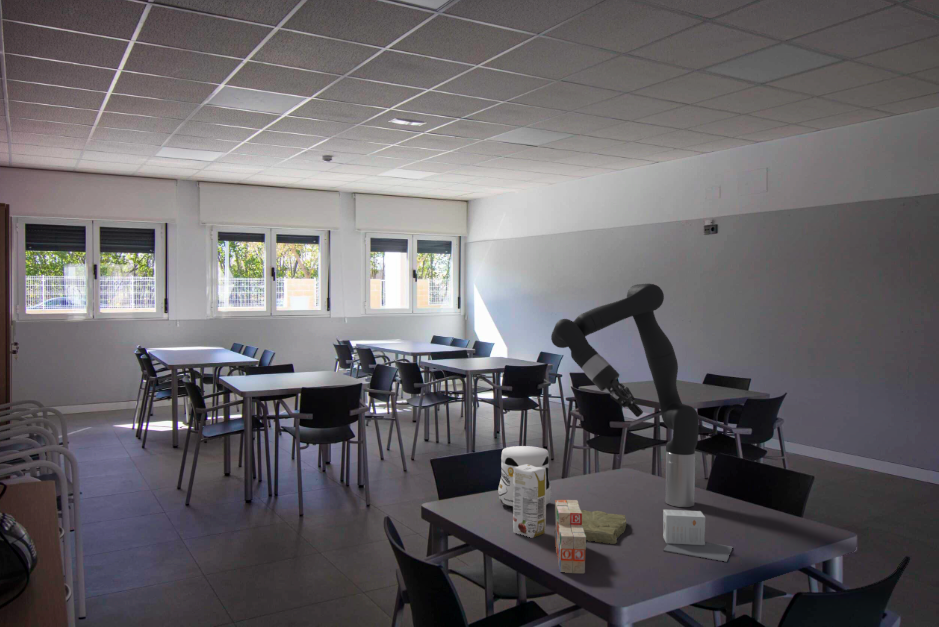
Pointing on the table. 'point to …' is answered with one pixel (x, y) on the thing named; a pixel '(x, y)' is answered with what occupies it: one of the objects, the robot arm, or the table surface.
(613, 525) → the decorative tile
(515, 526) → the juice carton
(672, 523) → the small box
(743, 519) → the table surface
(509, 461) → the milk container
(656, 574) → the table surface
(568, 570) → the stack of blocks
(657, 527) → the table surface
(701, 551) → the mat
